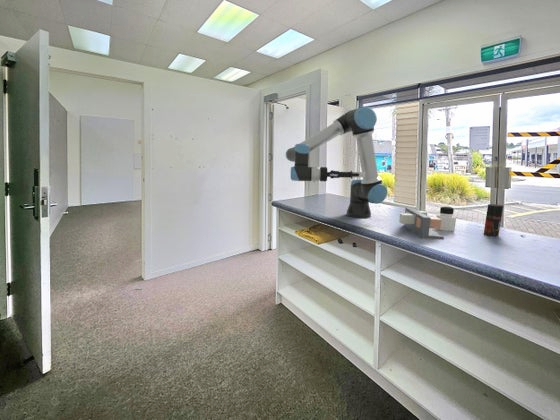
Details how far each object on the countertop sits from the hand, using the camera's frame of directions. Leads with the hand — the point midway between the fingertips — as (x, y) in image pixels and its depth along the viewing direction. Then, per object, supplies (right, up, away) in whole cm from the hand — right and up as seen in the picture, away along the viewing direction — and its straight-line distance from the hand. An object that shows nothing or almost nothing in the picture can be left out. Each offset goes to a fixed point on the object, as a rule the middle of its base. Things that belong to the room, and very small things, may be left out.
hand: (364, 174), depth 150 cm
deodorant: (+59, -31, -9) cm, 68 cm away
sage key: (+28, -24, +4) cm, 37 cm away
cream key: (+22, -25, -4) cm, 34 cm away
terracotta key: (+27, -27, -12) cm, 40 cm away
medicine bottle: (+43, -29, +1) cm, 52 cm away
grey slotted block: (+28, -29, -3) cm, 41 cm away
